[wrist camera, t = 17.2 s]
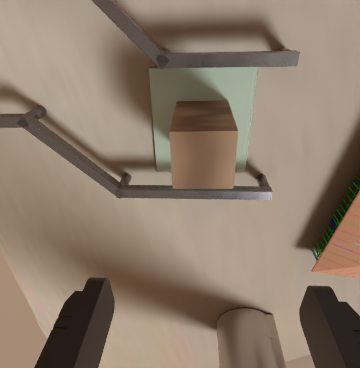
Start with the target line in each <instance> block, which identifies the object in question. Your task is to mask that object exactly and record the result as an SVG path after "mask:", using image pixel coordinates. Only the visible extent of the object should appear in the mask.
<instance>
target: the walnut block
mask: <svg viewBox="0 0 360 368" xmlns="http://www.w3.org/2000/svg"><path fill="white" fill-rule="evenodd" d="M169 136H170V153H171V170H172V186H173V189H233V187H234V175H235V164H236V152H237V140H238V129H237V126H236V123H235V120H234V117H233V114H232V111H231V108H230V105H229V102H228V100H225V101H177V102H176V107H175V111H174V115H173V119H172V123H171V127H170V131H169Z"/></svg>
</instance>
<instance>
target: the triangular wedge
mask: <svg viewBox="0 0 360 368" xmlns="http://www.w3.org/2000/svg"><path fill="white" fill-rule="evenodd" d="M359 170H360V169H359ZM356 177H357V176H356ZM357 178H358V177H357ZM358 179H359V178H358ZM359 180H360V179H359ZM352 183H353V184H354V185H355V186H356V187H357V190H358V189H359V187H360V185H359V187H358V186H357V185H356V184H355V183H354V182H352ZM349 189H350V190H351V188H349ZM357 190H356V191H355V193H354V192H353V191H352V190H351V191H352V192H353V194H354V195H353V197H352V199H353V198H354V196H356V197H355V199H354V200H353V201H352V199H351V198H350V197H349V196H348V194H347V193H345V194H346V195H347V196H348V197H349V199H350V202H351V201H352V204H351V205H350V207H349V204H350V202H349V203H348V204H347V203H346V202H345V200H344V199H343V201H344V202H345V203H346V205H347V207H346V209H347V208H348V207H349V209H348V210H347V212H346V209H345V210H344V208H343V207H342V206H341V204H339V205H340V206H341V208H342V209H343V210H344V212H345V213H346V214H345V215H344V217H342V216H343V214H344V212H343V214H342V215H341V214H340V213H339V211H338V210H337V209H336V210H337V211H338V213H339V214H340V216H341V217H340V219H341V218H342V220H341V222H339V221H340V219H339V221H338V219H337V218H336V216H335V215H334V214H333V215H334V216H335V218H336V219H337V223H336V221H335V220H334V218H333V217H332V218H333V220H334V221H335V223H336V226H338V227H336V226H335V225H334V223H333V221H332V220H331V221H330V222H331V224H332V225H333V227H334V229H335V232H334V234H333V233H332V232H333V231H334V229H333V230H332V231H331V230H330V228H329V226H327V227H328V228H329V230H330V232H331V234H330V236H331V235H332V237H331V239H330V236H328V234H327V232H326V230H324V231H325V232H326V234H327V236H328V239H330V240H329V242H328V243H327V241H328V239H327V241H326V240H325V238H324V236H323V235H322V236H323V238H324V240H325V242H326V243H325V245H326V244H327V245H326V247H324V246H325V245H323V243H322V242H321V240H320V239H319V240H320V242H321V244H322V246H323V247H322V249H323V248H324V251H323V252H322V249H320V247H319V245H318V244H317V245H318V247H319V249H320V252H319V254H318V252H317V250H316V248H315V250H316V252H317V254H318V256H319V255H321V256H319V259H317V258H318V256H316V254H315V252H314V251H312V252H313V254H314V256H315V258H316V260H317V262H316V264H315V266H314V267H313V269H312V272H317V273H324V274H332V275H339V276H347V277H354V278H360V189H359V192H358V194H357V195H356V192H357ZM338 224H339V225H338ZM321 253H322V254H321Z"/></svg>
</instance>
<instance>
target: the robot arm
mask: <svg viewBox="0 0 360 368" xmlns="http://www.w3.org/2000/svg"><path fill="white" fill-rule="evenodd" d="M113 313H114V297H113V293H112V289H111V285H110V281H109V279H108V278H89V279H88V280H87V282H86V285H85V287H84V289H83V291H75V292H74V293H73V294H72V295H71V296H70V297H69V298H68V299H67V301H66V302H65V303H64V305H63V307H62V309H61V312H60V314H59V317H58V319H57V320H56V322H55V324H54V327H53V330H52V331H51V333H50V335H49V337H48V339H47V342H46V344H45V346H44V348H43V350H42V352H41V355H40V357H39V359H38V361H37V363H36V365H35V367H34V368H98V367H99V363H100V360H101V356H102V352H103V349H104V345H105V342H106V338H107V335H108V331H109V328H110V324H111V321H112V317H113ZM299 314H300V322H301V325H302V328H303V332H304V335H305V338H306V341H307V344H308V347H309V350H310V353H311V356H312V358H313V362H314V365H315V368H360V316H359V315H358V314H357V313H356V312H355V311H354V310H353V309H352V308H351V306H350V305H349V304H348V303H347V302H339V301H338V299H337V297H336V295H335V293H334V291H333V290H332V288H331V287H329V286H308V287H307V290H306V292H305V295H304V298H303V301H302V303H301V306H300V312H299ZM217 337H218V350H219V367H220V368H286V365H285V361H284V357H283V353H282V349H281V345H280V341H279V337H278V333H277V329H276V324H275V320H274V316H273V315H268V314H265V313H263V312H261V311H258V310H255V309H249V308H241V309H234V310H231V311H228V312H226V313H224V314H223V315H221V316H220V317H219V319H218V321H217Z"/></svg>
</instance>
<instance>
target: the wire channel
mask: <svg viewBox="0 0 360 368" xmlns="http://www.w3.org/2000/svg"><path fill="white" fill-rule="evenodd" d="M92 1H93V2H94V3H95V4H96V5H97V6H98V7H99V8H100V9H101V10H102V11H103V12H104V13H105V14H106V15H107V16H108V17H109V18H110V19H111V20H112V21H113V22H114V23H115V24H116V25H117V26H118V27H119V28H120V29H121V30H122V31H123V32H124V33H125V34H126V35H127V36H128V37H129V38H130V39H131V40H132V41H133V42H134V43H135V44H136V45H137V46H138V47H139V48H140V49H141V50H142V51H143V52H144V53H145V54H146V55H147V56H148V57H149V58H150V59H151V60H152V61H153V62H154V63H155V64H156V65H157V68H160V69H161V70H162V69H163V68H220V67H283V66H297V64H298V59H299V54H300V52H298V51H291V50H289V49H286V48H284V47H282V48H279V49H278V50H277V51H255V52H204V53H171V52H170V51H169V50H164V51H163V50H162V49H161V48H160V47H159V46H158V45H157V44H156V43H155V42H154V41H153V40H152V39H151V38H150V37H149V36H148V35H147V34H146V33H145V32H144V31H143V29H142V28H141V27H140V26H139V25H138V24H137V23H136V22H135V21H134V20H133V19H132V18H131V17H130V16H129V15H128V14H127V13H126V12H125V11H124V10H123V9H122V8H121V7H120V6H119V5H118V4H117V3H116V1H115V0H92ZM44 115H46V109H45V108H44V107H42V106H38V107H37V108H35V109H33V110H32V111H30V112H27V113H25V114H0V128H18V127H23V128H24V129H26V130H27V131H28V132H30V133H31V134H32V135H34V136H35V137H36V138H38V139H39V140H41V141H42V142H43V143H45V144H46V145H47V146H49V147H50V148H51V149H53V150H54V151H56V152H57V153H58V154H60V155H61V156H62V157H64V158H65V159H66V160H68V161H69V162H70V163H72V164H73V165H75V166H76V167H77V168H79V169H80V170H81V171H83V172H84V173H85V174H87V175H88V176H90V177H91V178H92V179H94V180H95V181H96V182H98V183H99V184H100V185H102V186H103V187H105V188H106V189H107V190H109V191H110V192H111V193H113V194H114V195H115V196H116V197H117V198H176V199H244V200H271V198H272V193H273V192H272V189H271V187H269V184H268V182H267V179H266V177H265V176H264V175H259V176H258V177H257V181H258V184H259V187H252V186H234V187H233V189H173V186H166V185H129V182H130V180H131V176H130V175H129V174H124V175H123V177H122V179H121V181H120V182H118V181H117V180H116V179H115V178H113V177H112V176H111V175H109V174H108V173H107V172H105V171H104V170H103V169H101V168H100V167H99V166H97V165H96V164H95V163H93V162H92V161H91V160H89V159H88V158H87V157H86V156H84V155H83V154H82V153H80V152H79V151H78V150H76V149H75V148H74V147H72V146H71V145H70V144H68V143H67V142H66V141H64V140H63V139H62V138H60V137H59V136H58V135H57V134H55V133H54V132H53V131H51V130H50V129H49V128H47V127H46V126H45V125H43V124H42V123H41V122H39V121H38V119H40V118H41V117H43V116H44Z"/></svg>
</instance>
